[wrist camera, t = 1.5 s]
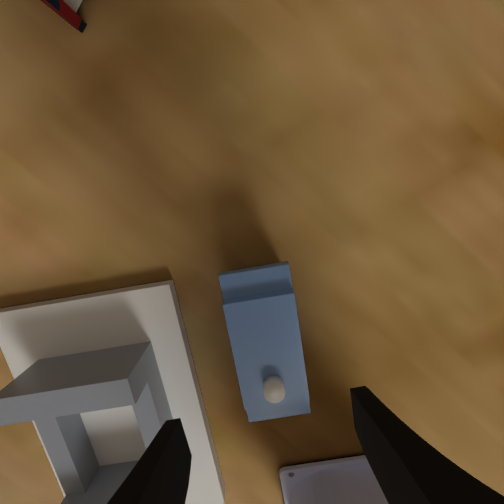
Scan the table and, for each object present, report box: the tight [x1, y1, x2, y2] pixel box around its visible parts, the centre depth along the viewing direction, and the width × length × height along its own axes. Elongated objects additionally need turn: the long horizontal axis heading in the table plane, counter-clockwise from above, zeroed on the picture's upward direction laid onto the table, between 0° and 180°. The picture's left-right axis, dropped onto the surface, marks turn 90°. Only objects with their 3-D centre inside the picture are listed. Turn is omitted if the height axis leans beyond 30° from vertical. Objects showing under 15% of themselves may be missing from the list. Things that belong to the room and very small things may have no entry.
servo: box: [218, 261, 311, 422], centre depth 18 cm, size 4×10×6 cm, turn 10°
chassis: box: [0, 280, 226, 504], centre depth 20 cm, size 13×20×5 cm, turn 10°
